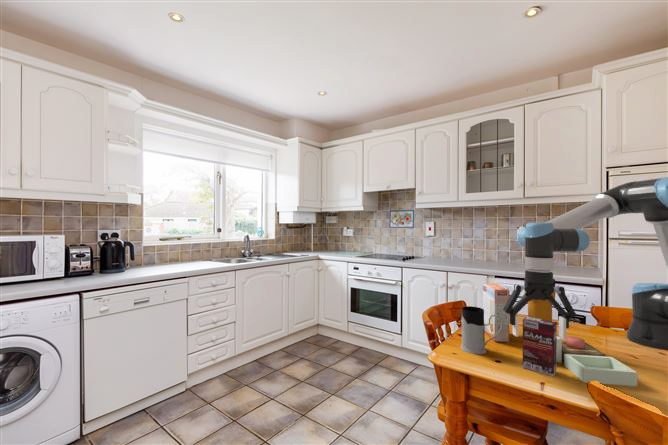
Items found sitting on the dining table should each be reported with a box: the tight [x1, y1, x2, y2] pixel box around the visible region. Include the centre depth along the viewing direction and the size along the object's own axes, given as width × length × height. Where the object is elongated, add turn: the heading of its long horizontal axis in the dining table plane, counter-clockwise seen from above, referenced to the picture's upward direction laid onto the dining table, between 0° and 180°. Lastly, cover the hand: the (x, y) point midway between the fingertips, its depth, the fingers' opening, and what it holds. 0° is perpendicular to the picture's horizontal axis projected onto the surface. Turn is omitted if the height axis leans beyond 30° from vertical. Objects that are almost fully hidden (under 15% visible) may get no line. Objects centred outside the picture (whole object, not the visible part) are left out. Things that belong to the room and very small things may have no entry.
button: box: [565, 336, 586, 350], centre depth 106 cm, size 5×5×3 cm
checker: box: [561, 340, 606, 364], centre depth 106 cm, size 12×10×4 cm
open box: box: [556, 335, 563, 364], centre depth 107 cm, size 7×7×8 cm
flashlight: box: [523, 277, 556, 322], centre depth 119 cm, size 10×26×10 cm
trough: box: [563, 354, 638, 387], centre depth 95 cm, size 14×10×4 cm
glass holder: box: [460, 305, 503, 355], centre depth 114 cm, size 9×14×15 cm, turn 67°
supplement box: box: [522, 316, 558, 377], centre depth 98 cm, size 9×5×16 cm, turn 45°
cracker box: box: [482, 282, 510, 343], centre depth 128 cm, size 14×6×21 cm, turn 171°
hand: (538, 336), depth 98 cm, fingers open, 13 cm apart
